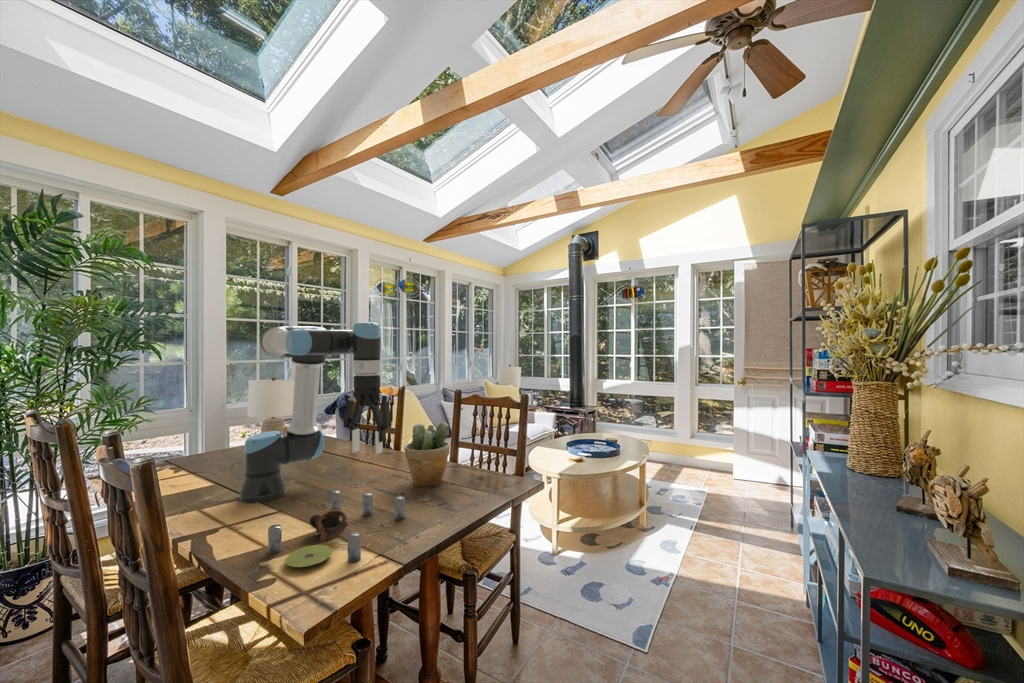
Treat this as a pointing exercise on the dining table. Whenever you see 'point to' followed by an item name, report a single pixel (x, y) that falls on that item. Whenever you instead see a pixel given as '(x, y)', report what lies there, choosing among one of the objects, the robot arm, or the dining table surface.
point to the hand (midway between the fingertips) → (367, 451)
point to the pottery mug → (329, 524)
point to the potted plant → (428, 454)
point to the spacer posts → (353, 537)
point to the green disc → (308, 555)
